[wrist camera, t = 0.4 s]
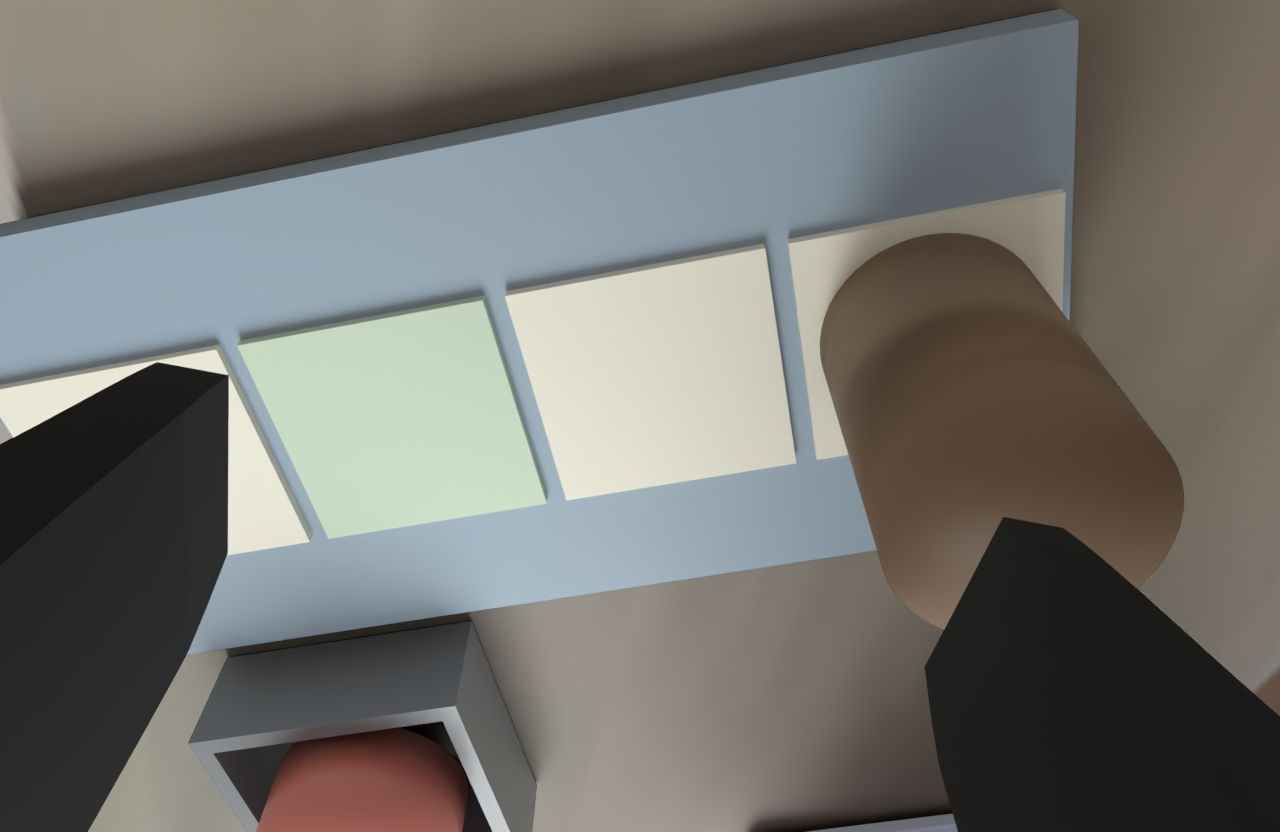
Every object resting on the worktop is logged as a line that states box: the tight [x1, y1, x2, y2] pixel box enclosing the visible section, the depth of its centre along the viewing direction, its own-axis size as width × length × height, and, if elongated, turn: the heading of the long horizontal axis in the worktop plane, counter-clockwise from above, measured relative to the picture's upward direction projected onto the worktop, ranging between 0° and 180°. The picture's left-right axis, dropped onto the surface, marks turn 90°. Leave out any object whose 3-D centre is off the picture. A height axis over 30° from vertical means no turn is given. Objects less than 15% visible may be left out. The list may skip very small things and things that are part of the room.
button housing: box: [188, 621, 537, 832], centre depth 24 cm, size 6×6×2 cm
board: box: [0, 9, 1079, 655], centre depth 20 cm, size 10×20×1 cm, turn 101°
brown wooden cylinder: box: [820, 233, 1184, 630], centre depth 16 cm, size 4×4×6 cm
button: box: [256, 727, 468, 832], centre depth 23 cm, size 4×4×2 cm
